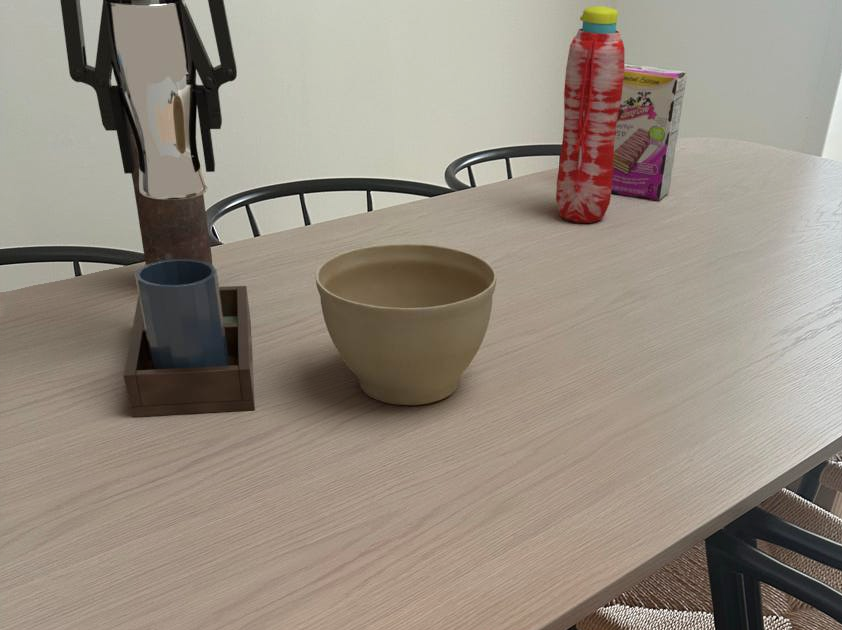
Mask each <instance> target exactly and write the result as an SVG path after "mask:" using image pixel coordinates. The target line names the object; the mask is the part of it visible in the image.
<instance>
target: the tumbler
mask: <svg viewBox="0 0 842 630" xmlns="http://www.w3.org/2000/svg"><path fill="white" fill-rule="evenodd" d="M134 277H135V278H134V279H135V283H136V288H137V294H138V295H139V299H140V305H141V310H142V315H143V320H144V326H145V331H146V336H147V341H148V347H149V352H150V357H151V362H152V368H153V370H156V369H176V368H195V367H215V366H230V365H229V358H228V350H227V343H226V336H225V328H224V321H223V314H222V307H221V299H220V292H219V287H220V286H219V278H218V272H217V269H216V267H215V266H214V264H213V265H211V264H208V263H206V262H203V261H198V260H192V259H172V260H163V261H158V262H154V263H150V264H147V265H146V264H145V265H144V266H141V267H139V268H138V269H137V270H136V272H135V273H134Z"/></svg>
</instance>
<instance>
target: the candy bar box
mask: <svg viewBox="0 0 842 630" xmlns="http://www.w3.org/2000/svg"><path fill="white" fill-rule="evenodd" d="M687 74H688V73H687V71H684V70H677V69H669V68H661V67H654V66H647V65H639V64H632V63H625V62H624V79H623V88H622V97H621V102H620V108H621V110H622V111H623V112H624V113H623V114H622V116H621V117H620V119H619V120H618V121H617V123H616V132H615V140H614V158H613V179H612V189H611V194H616V195H622V196H627V197H628V196H629V197H633V198H639V199H645V200H651V201H657V202H659V201H661V200H662V199H664V197H666V196H667V195H668V194H669V193H670V189H671V180H672V175H673V167H674V161H675V154H676V148H677V147H676V146H677V141H678V134H679V128H680V127H679V126H680V122H681V121H680V120H681V114H682V108H683V103H684V102H683V101H684V95H685V89H686V82H687V76H688V75H687Z"/></svg>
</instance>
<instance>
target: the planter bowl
mask: <svg viewBox="0 0 842 630" xmlns="http://www.w3.org/2000/svg"><path fill="white" fill-rule="evenodd" d="M314 277H315V285H316V289H317V291H318V294H319V297H320V305H321V311H322V315H323V320H324V322H325V326H326V329H327V332H328V335H329V337H330V339H331V341H332V343H333V345H334V347H335V349H336V350H337V352H338V354H339V355H340V357H341V358H342V360H343V361H344V363H345V364H346V366H348V368H349V369H350V370H351V371H352V373H354V374H355V375H356V376H357V378H358V382H359V383H358V384H359V386H360V388H361V391H363V392H364V393H365V394H366V395H367V396H368V397H370V398H372V399H375V400H376V401H379V402H382V403H386V404H390V405H397V406H419V405H420V406H421V405H428V404H431V403H435V402H439V401H442V400H443V399H445V398H448V397H449V396H451V395H452V394H453V393H454V392H455V391H456V390H457V389H458V388H459V383H460V379H461V376H462V375H463V373H464V372H465V371H466V370H467V368H468V367H469V366H470V364H471V363H472V362H473V360H474V359H475V357H476V355H477V353H478V352H479V350H480V347H481V345H482V343H483V341H484V338H485V336H486V334H487V331H488V327H489V325H490V324H489V323H490V319H491V316H492V315H491V314H492V313H491V312H492V308H493V298H494V297H493V296H494V293H495V290H496V286H497V273H496V269H494V267H493V265H491V264H490V263H489V262H488V261H487V260H485V259H484V258H482V257H480V256H478V255H477V254H474V253H472V252H469V251H466V250H462V249H459V248H455V247H450V246H444V245H441V244H440V245H439V244H433V243H432V244H431V243H417V242H416V243H413V242H397V243H386V244H385V243H384V244H374V245H367V246H361V247H355V248H352V249H349V250H345V251H342V252H340V253H337V254H335V255H332V256H331V257H329V258H327V259H326V260H325V261H323V262H322V263H321V264H320V265H319V266H318V267H317V269H316V272H315V275H314Z"/></svg>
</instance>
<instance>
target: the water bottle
mask: <svg viewBox="0 0 842 630" xmlns="http://www.w3.org/2000/svg"><path fill="white" fill-rule="evenodd" d="M618 15H619V11H618V10H617V9H615V8H613V7H609V6H604V5H595V6H589V7H585V8H584V9H583V11H582V15H581V16H580V17H579V21H582V27H581V28H578V30H577V33H576V35H575V36H574V37H573V38H572V41H571V43H570V45H569V49H568V50H569V51H568V55H567V61H566V66H565V76H564V90H563V132H562V142H561V149H560V157H559V163H558V170H557V178H556V192H555V196H556V197H555V201H556V205H557V211H558V213H559V215H560V217H561V218H563V219H565V220H566V221H569V222H572V223H576V224H577V223H578V224H591V223H595V222H599V221H600V220H602V219H603V218H604V216H605V215H606V213H607V210H608V208H609V206H610V203H611V197H612V193H611V189H612V179H613V158H614V140H615V132H616V123H617V121H618V120H619V119H620V117H621V116H622V114H623V113H624V112H623V111H622V110H621V108H620V102H621V97H622V88H623V79H624V63H625V53H626V52H625V51H626V50H625V46H624V45H625V44H624V41H623V39H622V38H621V34H620V31H618V30H616V29H617V23H618Z"/></svg>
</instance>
